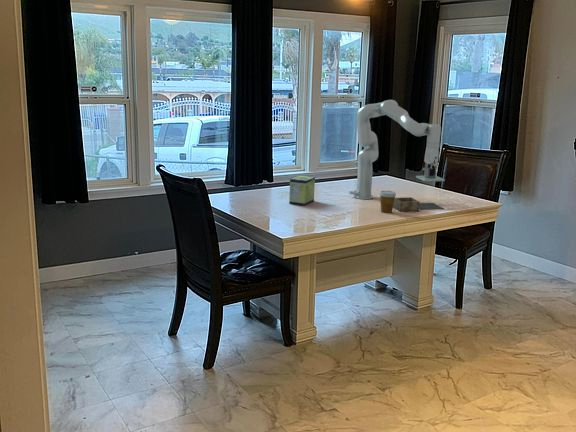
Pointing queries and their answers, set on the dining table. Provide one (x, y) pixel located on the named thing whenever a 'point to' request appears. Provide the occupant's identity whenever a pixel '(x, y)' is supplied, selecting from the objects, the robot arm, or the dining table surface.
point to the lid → (430, 178)
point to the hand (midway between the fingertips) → (430, 174)
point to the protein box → (302, 190)
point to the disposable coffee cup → (387, 201)
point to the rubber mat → (429, 206)
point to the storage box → (406, 204)
